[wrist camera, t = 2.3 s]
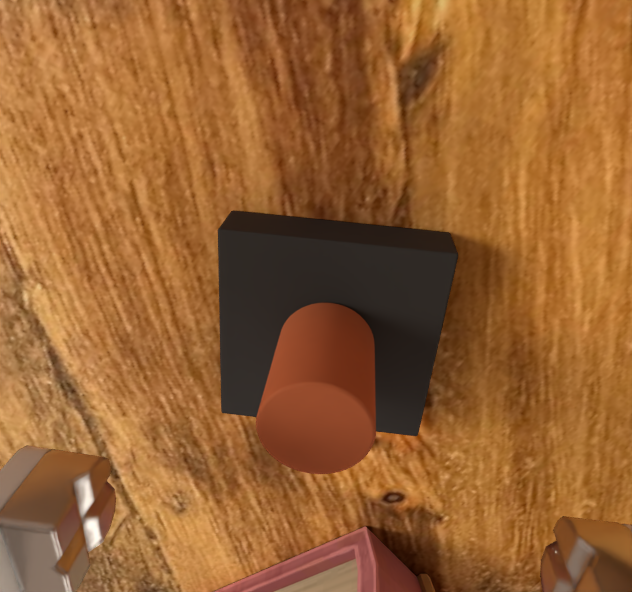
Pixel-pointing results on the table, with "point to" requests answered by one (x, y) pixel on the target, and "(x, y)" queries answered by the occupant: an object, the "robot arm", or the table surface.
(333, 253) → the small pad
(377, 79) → the table surface
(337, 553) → the book
